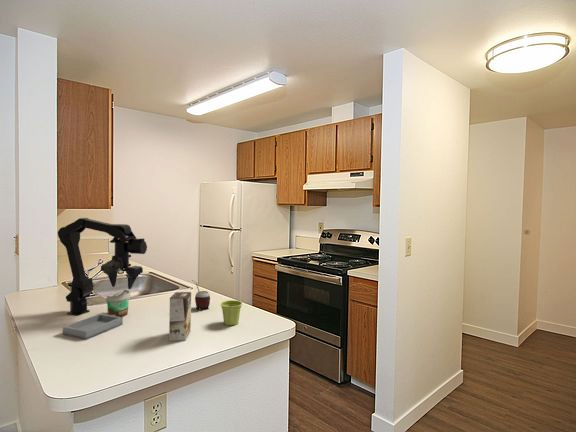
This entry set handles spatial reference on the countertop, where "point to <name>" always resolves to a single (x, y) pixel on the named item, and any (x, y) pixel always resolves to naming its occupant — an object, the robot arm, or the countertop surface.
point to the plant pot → (231, 311)
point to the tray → (92, 326)
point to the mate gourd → (202, 299)
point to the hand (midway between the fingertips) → (121, 287)
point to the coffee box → (180, 316)
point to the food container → (118, 304)
